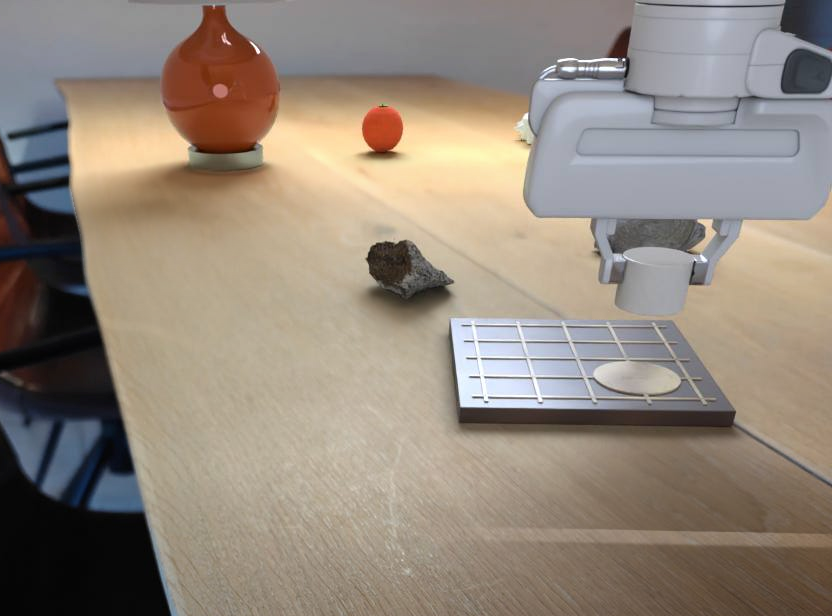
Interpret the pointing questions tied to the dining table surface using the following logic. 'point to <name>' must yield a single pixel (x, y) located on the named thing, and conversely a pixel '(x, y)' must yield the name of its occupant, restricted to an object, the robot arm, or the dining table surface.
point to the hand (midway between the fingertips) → (653, 283)
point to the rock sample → (403, 268)
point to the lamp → (219, 89)
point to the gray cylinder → (654, 281)
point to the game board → (581, 373)
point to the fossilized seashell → (655, 234)
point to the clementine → (382, 128)
